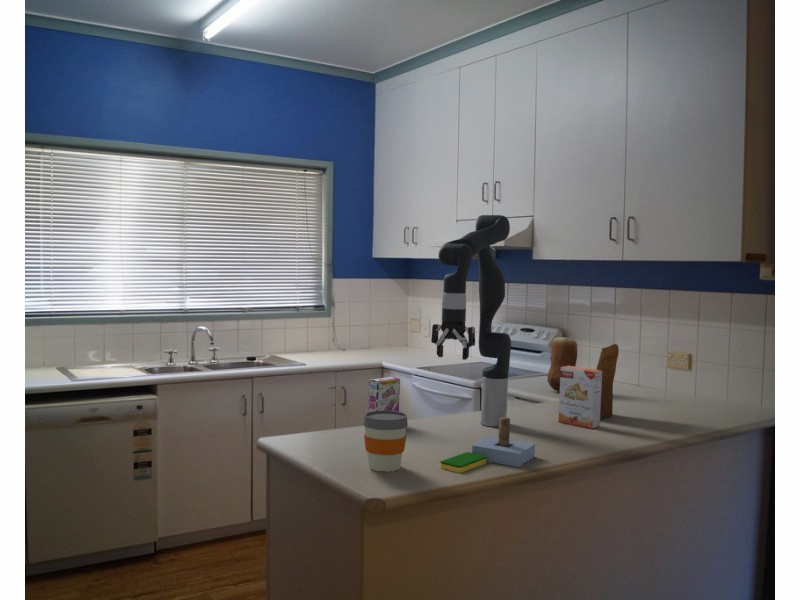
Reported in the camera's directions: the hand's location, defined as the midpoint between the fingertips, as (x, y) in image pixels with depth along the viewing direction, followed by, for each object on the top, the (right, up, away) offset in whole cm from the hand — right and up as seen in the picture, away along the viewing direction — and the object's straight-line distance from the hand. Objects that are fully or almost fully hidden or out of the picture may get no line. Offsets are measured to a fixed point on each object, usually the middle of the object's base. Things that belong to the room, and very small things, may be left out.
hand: (452, 358), depth 230 cm
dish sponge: (+2, -30, -19) cm, 36 cm away
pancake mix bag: (+61, -27, +49) cm, 83 cm away
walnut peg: (+15, -29, -11) cm, 34 cm away
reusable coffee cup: (-21, -29, -23) cm, 43 cm away
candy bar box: (-22, -26, +28) cm, 44 cm away
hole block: (+15, -29, -11) cm, 34 cm away
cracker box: (+49, -27, +36) cm, 66 cm away
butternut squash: (+57, -24, +99) cm, 117 cm away
